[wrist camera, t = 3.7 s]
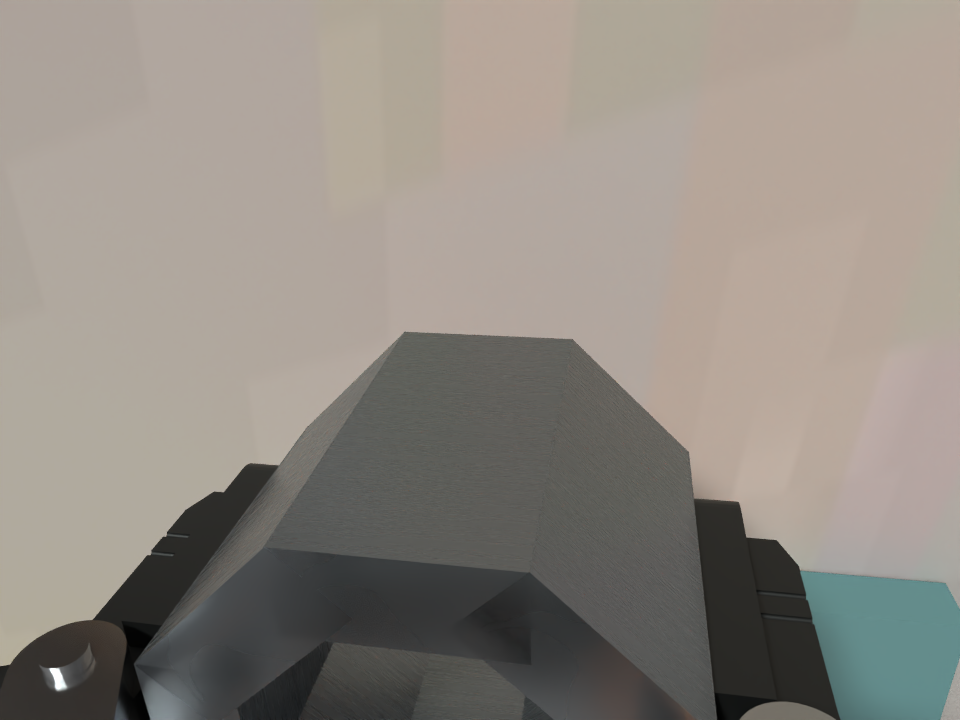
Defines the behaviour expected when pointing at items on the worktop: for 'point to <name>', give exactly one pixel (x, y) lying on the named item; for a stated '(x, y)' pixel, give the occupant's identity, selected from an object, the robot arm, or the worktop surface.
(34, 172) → the worktop surface
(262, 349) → the worktop surface
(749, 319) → the worktop surface
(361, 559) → the tube
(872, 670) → the shaft stand
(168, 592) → the robot arm
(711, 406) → the worktop surface
